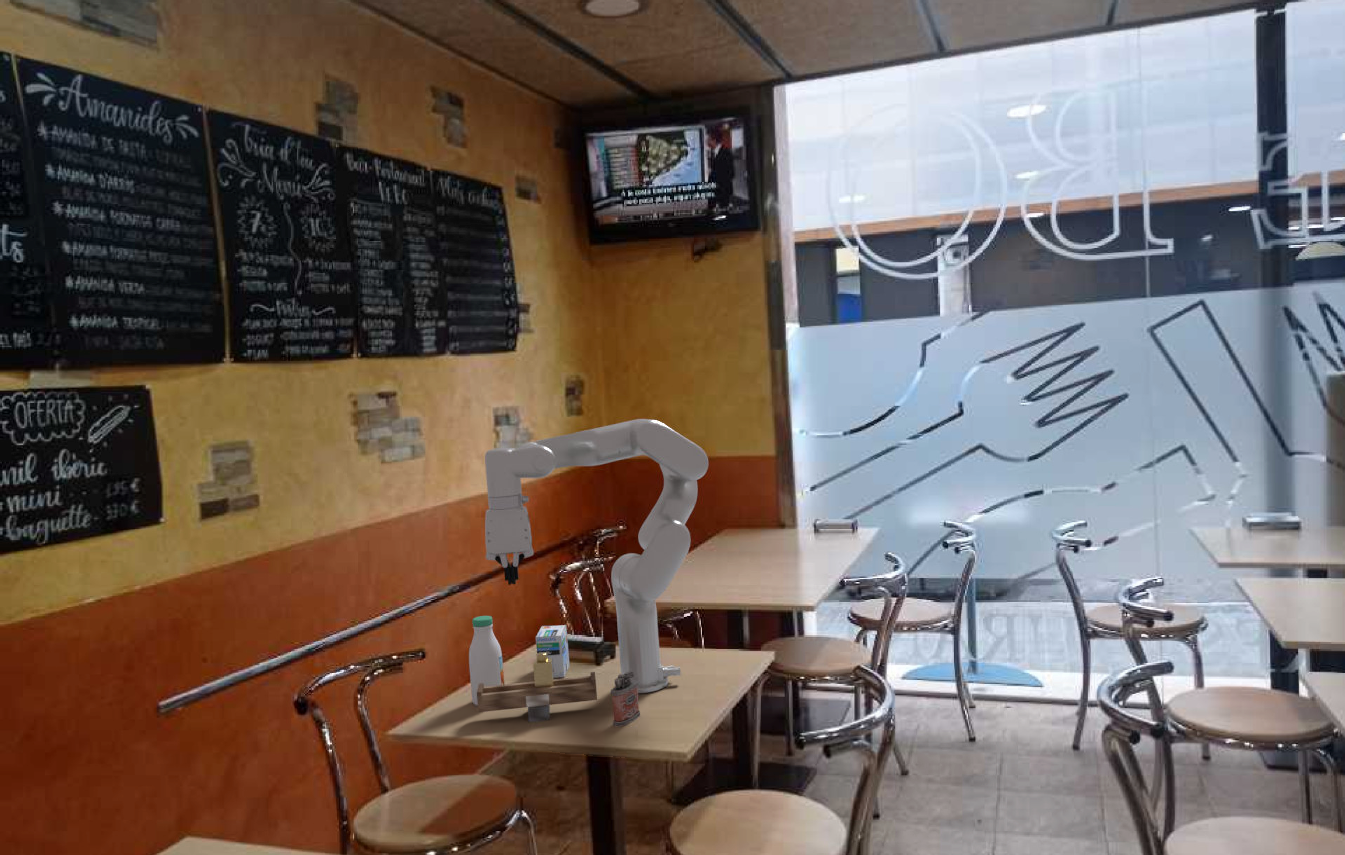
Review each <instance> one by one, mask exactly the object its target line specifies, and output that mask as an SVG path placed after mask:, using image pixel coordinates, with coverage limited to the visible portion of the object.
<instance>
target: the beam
mask: <svg viewBox="0 0 1345 855" xmlns="http://www.w3.org/2000/svg"><path fill="white" fill-rule="evenodd" d="M553 683H554V686H551V687H542V688H535V681H529V682H525V681H524V682H517V683H508V684H505V685H496V686H486V687H484V683H481V684H479V686H478V689H477V701H478V706H477V710H478V713H485V712H486V713H487V712H494V711H495V712H496V711H504V710H505V711H506V710H516V709H522V708H525V709H526V708H527V714H528V722H529V723H532V722H542V721H550V710H551V709H550V706H552V705H553V706H554V705H561V704H563V705H564V704H570V703H571V704H572V703H579V702H589V701H590V702H591V701H598V696H597V694H598V691H597V681H596V672H595V671H590V675H586V676H576V677H575V676H574V677H568V678H567V677H566V678H565V677H563V678H556V679H553Z"/></svg>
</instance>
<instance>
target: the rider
mask: <svg viewBox="0 0 1345 855" xmlns="http://www.w3.org/2000/svg"><path fill="white" fill-rule="evenodd" d="M535 656H536V659H533V660H532V662H533V664H532V665H533V678H534V682H535V688H542V687H551V686H554V683H553V680H554V678H553V671H552V658H549V659H548V657H547V653H546V652H541V653H537V652H536V655H535Z"/></svg>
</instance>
